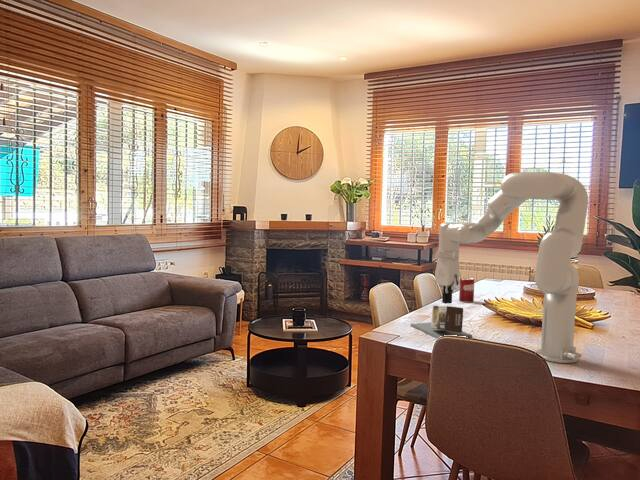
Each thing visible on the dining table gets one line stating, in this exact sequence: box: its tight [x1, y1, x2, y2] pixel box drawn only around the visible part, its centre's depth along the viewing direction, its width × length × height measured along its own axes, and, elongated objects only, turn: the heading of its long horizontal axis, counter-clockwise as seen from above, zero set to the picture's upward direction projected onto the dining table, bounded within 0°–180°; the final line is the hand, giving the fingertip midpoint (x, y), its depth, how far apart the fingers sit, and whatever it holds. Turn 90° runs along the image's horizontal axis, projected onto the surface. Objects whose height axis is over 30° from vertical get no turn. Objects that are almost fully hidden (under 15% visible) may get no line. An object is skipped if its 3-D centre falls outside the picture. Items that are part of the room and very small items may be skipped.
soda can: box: [458, 277, 475, 304], centre depth 258 cm, size 7×7×12 cm
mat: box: [410, 322, 473, 339], centre depth 196 cm, size 22×14×1 cm, turn 18°
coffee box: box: [430, 305, 464, 333], centre depth 187 cm, size 9×6×16 cm
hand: (446, 302), depth 191 cm, fingers closed
